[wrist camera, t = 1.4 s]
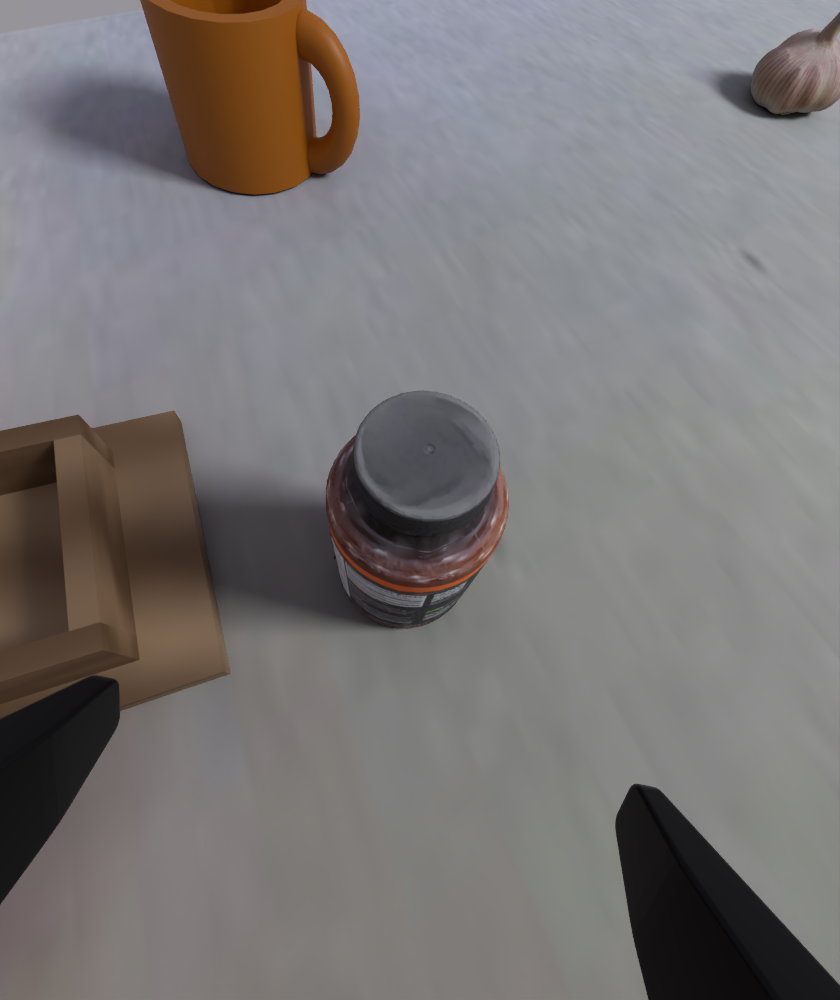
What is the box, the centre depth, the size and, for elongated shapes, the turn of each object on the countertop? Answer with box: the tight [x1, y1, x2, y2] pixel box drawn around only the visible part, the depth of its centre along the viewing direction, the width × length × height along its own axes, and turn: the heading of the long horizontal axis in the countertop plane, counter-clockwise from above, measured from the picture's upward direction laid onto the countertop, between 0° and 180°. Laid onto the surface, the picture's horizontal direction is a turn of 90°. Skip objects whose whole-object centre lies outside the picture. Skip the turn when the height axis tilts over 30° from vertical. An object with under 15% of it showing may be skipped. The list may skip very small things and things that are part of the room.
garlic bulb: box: [751, 12, 840, 115], centre depth 41 cm, size 8×7×8 cm
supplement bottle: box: [326, 391, 509, 629], centre depth 18 cm, size 6×6×11 cm
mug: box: [140, 0, 360, 195], centre depth 30 cm, size 9×12×9 cm
